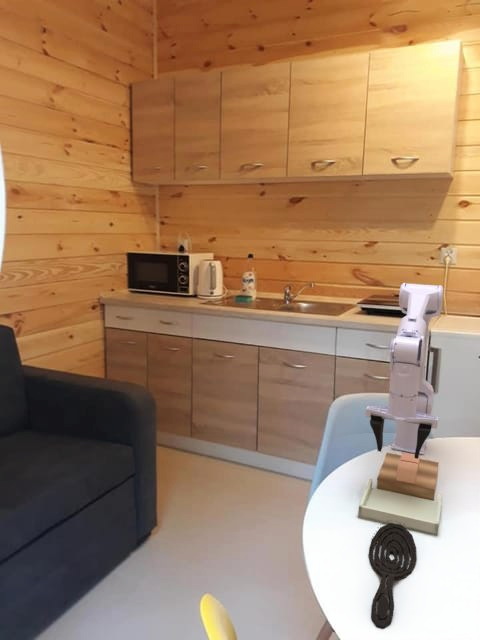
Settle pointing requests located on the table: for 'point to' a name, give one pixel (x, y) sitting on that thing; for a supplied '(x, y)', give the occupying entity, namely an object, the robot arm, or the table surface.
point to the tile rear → (410, 458)
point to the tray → (400, 510)
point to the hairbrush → (390, 567)
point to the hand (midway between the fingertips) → (398, 453)
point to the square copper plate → (419, 489)
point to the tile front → (407, 472)
